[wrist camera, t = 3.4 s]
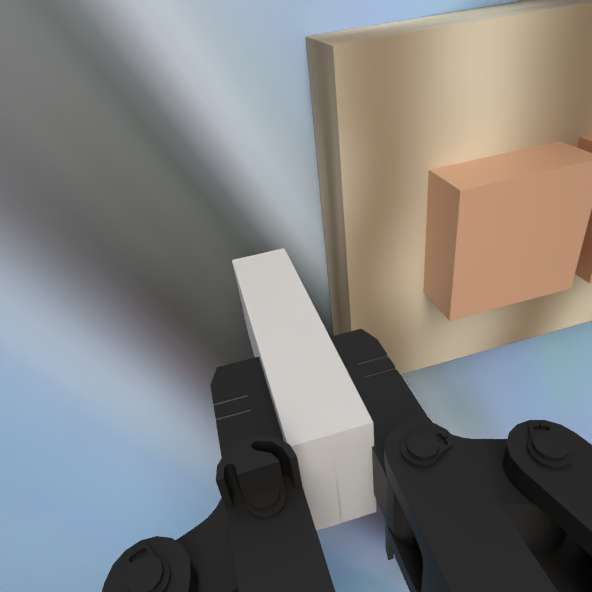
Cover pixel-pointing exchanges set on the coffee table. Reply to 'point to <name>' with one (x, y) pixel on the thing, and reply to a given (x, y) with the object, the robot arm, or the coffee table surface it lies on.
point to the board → (437, 157)
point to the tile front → (505, 227)
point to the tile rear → (588, 264)
